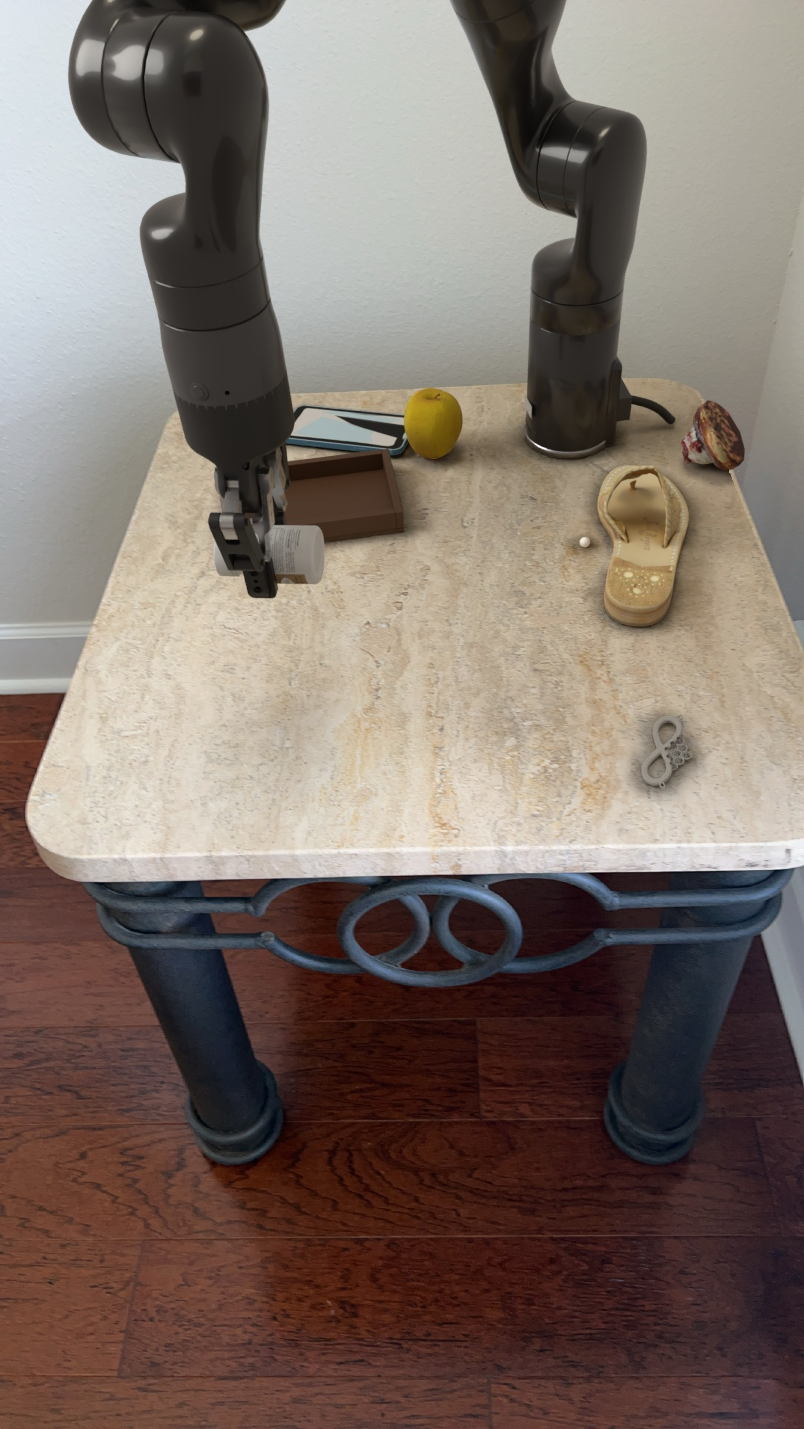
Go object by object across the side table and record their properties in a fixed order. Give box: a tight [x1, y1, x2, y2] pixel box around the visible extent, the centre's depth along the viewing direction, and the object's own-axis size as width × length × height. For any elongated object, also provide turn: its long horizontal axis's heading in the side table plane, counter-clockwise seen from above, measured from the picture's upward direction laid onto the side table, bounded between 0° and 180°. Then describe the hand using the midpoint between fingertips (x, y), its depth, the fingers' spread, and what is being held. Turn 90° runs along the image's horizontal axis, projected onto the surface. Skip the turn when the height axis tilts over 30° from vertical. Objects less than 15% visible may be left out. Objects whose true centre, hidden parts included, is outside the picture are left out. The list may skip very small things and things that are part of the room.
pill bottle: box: [213, 525, 326, 585], centre depth 79 cm, size 4×4×8 cm
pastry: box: [679, 399, 746, 471], centre depth 110 cm, size 8×8×5 cm
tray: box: [247, 449, 405, 543], centre depth 109 cm, size 18×12×2 cm, turn 98°
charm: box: [640, 714, 693, 789], centre depth 84 cm, size 8×1×4 cm
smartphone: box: [286, 404, 409, 456], centre depth 119 cm, size 7×1×15 cm
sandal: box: [596, 464, 690, 627], centre depth 100 cm, size 13×23×8 cm, turn 150°
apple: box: [403, 387, 464, 460], centre depth 112 cm, size 6×6×8 cm
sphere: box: [579, 536, 598, 595], centre depth 101 cm, size 1×8×1 cm, turn 3°
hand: (270, 572), depth 80 cm, fingers closed on pill bottle, 4 cm apart
